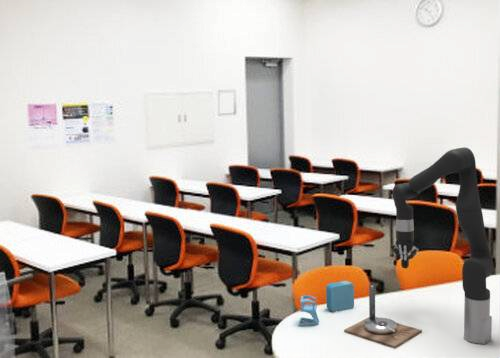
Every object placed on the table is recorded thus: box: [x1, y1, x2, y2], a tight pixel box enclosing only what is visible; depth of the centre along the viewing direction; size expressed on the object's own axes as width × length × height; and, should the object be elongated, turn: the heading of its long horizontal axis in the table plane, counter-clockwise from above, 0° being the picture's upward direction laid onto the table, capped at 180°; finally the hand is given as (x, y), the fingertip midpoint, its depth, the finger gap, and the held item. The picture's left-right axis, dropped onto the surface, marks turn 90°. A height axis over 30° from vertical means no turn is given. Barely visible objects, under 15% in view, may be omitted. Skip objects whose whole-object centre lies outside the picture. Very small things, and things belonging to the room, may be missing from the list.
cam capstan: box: [364, 284, 398, 334], centre depth 237 cm, size 17×13×16 cm
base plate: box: [343, 316, 423, 349], centre depth 238 cm, size 24×20×1 cm
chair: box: [298, 294, 320, 327], centre depth 249 cm, size 8×8×12 cm
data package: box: [325, 280, 355, 313], centre depth 264 cm, size 12×4×12 cm, turn 112°
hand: (405, 267), depth 254 cm, fingers closed
